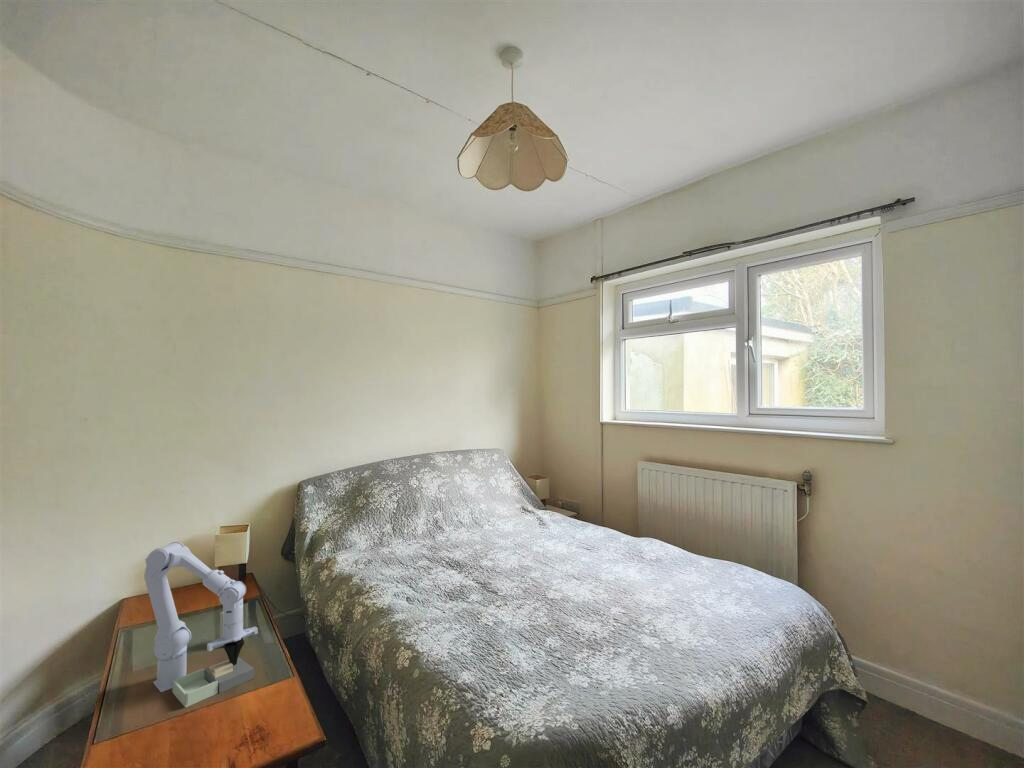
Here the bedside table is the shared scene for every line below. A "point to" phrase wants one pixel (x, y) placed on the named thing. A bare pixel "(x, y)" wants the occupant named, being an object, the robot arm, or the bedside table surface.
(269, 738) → the bedside table surface
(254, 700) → the bedside table surface
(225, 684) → the plate
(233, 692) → the bedside table surface
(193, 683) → the tray
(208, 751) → the bedside table surface
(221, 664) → the birch block
